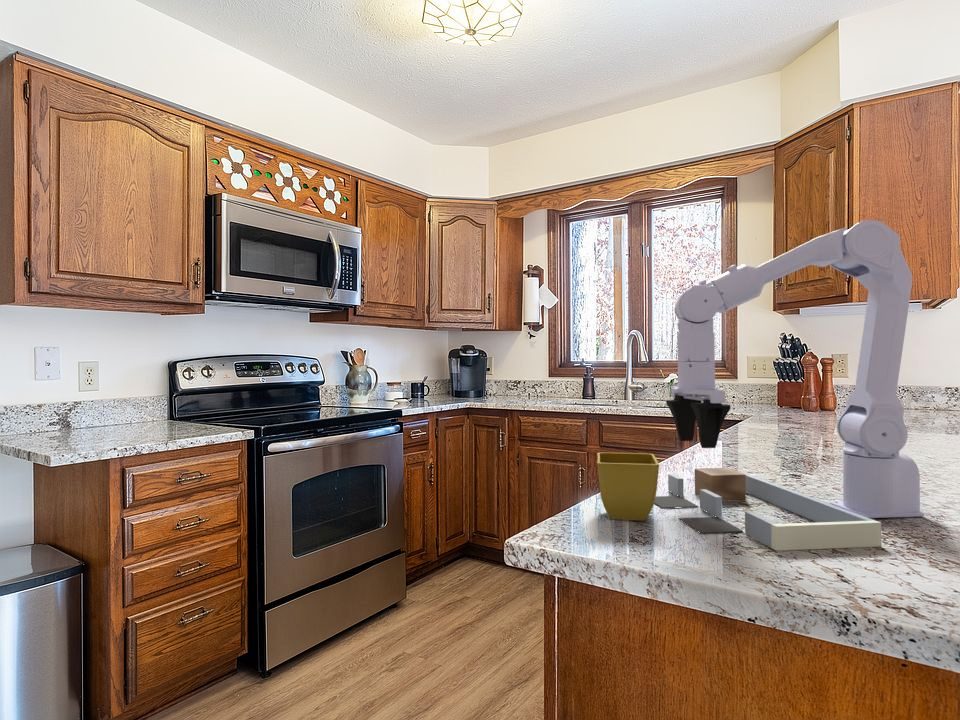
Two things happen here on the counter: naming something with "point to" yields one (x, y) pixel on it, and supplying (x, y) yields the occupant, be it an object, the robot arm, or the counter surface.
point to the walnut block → (721, 483)
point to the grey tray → (775, 495)
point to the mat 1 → (672, 502)
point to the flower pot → (627, 484)
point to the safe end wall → (825, 535)
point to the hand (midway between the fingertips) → (696, 444)
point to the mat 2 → (710, 525)
